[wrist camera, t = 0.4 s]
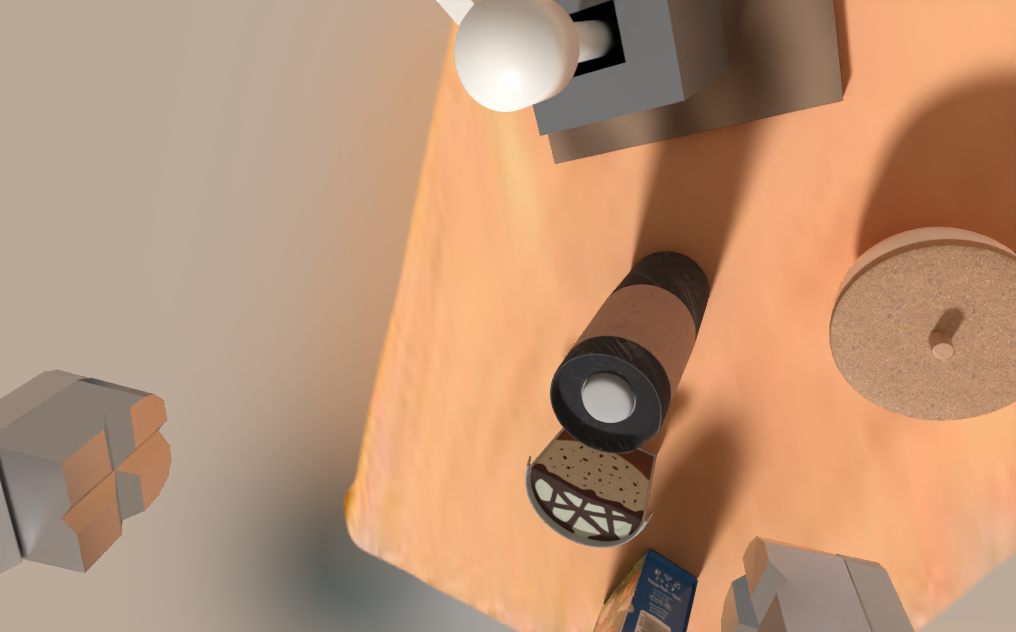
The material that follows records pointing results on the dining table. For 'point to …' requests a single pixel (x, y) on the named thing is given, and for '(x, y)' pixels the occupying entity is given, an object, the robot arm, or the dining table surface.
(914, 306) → the lidded bowl
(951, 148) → the dining table surface
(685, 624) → the blue food package
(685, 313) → the travel mug
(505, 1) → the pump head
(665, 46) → the grey upright block
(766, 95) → the base plate
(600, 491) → the food container
